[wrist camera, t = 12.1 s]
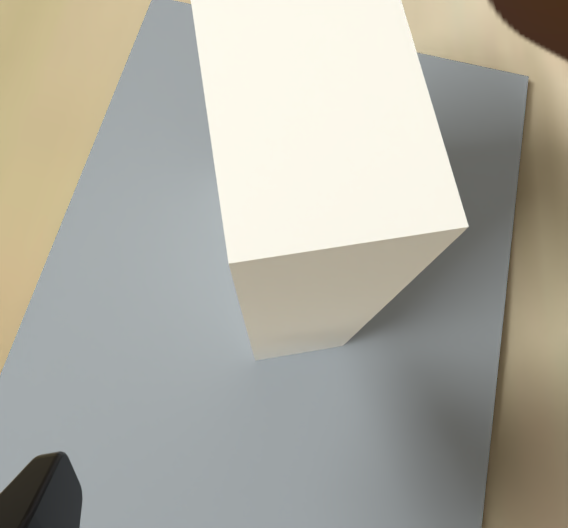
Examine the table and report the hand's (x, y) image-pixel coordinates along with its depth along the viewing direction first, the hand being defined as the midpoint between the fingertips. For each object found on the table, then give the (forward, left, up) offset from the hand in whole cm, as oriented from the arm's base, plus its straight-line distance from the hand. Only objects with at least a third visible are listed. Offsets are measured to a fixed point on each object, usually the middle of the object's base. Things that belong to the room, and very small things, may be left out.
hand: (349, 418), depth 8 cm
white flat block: (+5, +2, -8) cm, 10 cm away
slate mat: (+5, +2, -9) cm, 10 cm away
